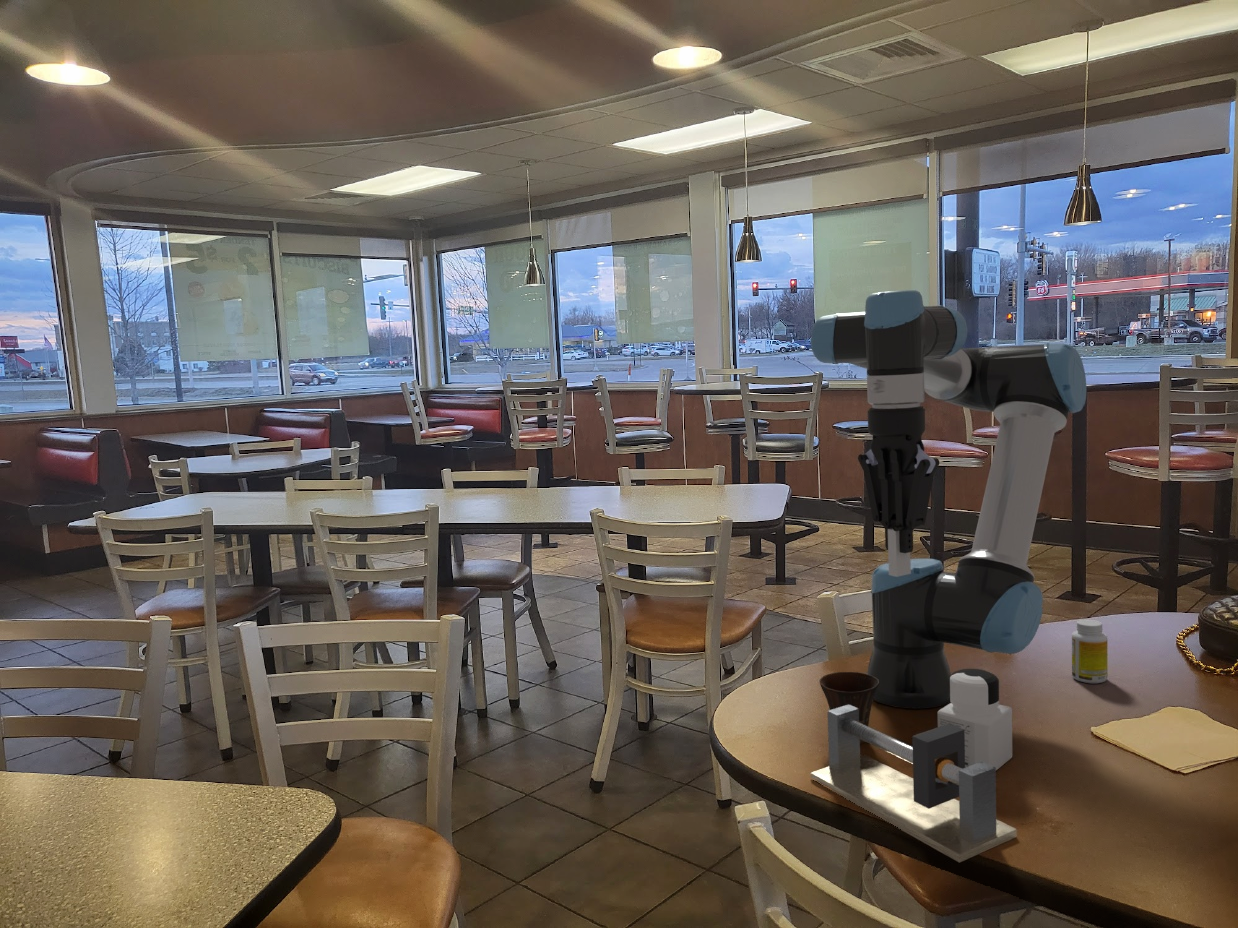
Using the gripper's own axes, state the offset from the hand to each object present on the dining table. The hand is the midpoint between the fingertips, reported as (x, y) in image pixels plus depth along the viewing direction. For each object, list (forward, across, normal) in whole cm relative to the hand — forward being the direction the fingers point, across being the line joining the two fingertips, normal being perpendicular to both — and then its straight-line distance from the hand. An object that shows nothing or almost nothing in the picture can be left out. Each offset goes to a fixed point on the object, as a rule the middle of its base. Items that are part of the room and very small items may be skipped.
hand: (899, 574), depth 128 cm
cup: (+29, -12, +1) cm, 31 cm away
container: (+29, +4, +10) cm, 31 cm away
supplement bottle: (+29, -6, +51) cm, 59 cm away
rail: (+28, +8, -8) cm, 31 cm away
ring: (+25, +14, -8) cm, 30 cm away
